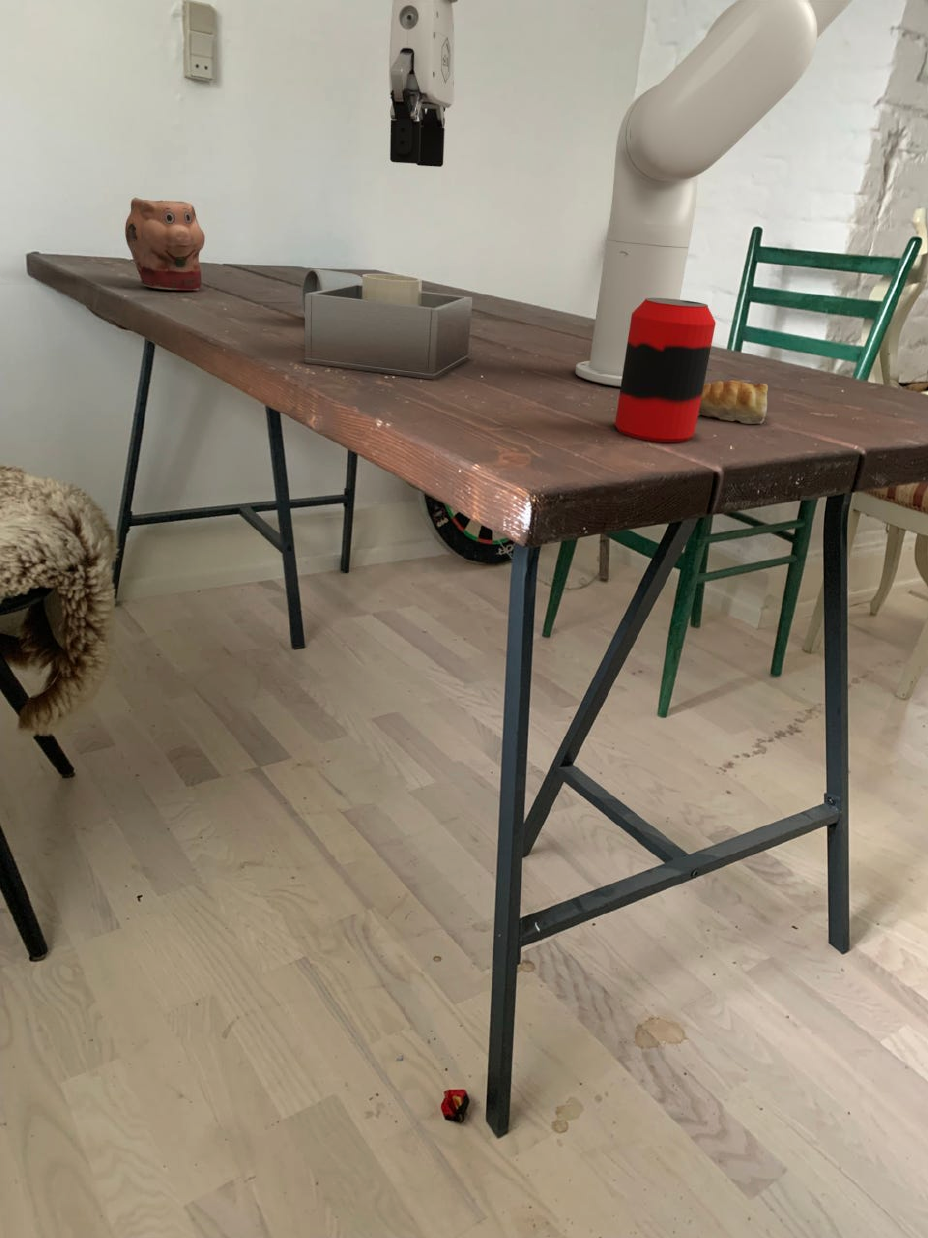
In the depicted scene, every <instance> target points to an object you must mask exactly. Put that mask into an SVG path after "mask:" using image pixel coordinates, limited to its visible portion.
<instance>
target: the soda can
mask: <svg viewBox="0 0 928 1238" xmlns="http://www.w3.org/2000/svg"><path fill="white" fill-rule="evenodd" d="M716 324H717V322H716V320H715V319H714V316H713V315H712V312H711V310H710V309H709V305H708V304H706V303H703V302H698V301H694V300H686V299H680V300H678V299H668V298H645V300H644V301H643V302H642V303H641V305H640V306H639V307H638V308H637V309H636V310H635V311H634V312H633V313H632V316H631V323H630V329H629V336H628V342H627V349H626V355H625V362H624V368H623V375H622V381H621V387H619V394H618V401H617V408H616V414H615V421H614V426H615V427H616V429H617V431H618V432H619V433H621V434H622V435H625V436H626V437H627V436H628V437H630V438H634V439H637V440H643V441H648V442H656V443H671V444H672V443H674V444H675V443H684V442H687V441H689V440H690V439H691V438H693V437H694V435H695V432H696V428H697V422H698V421H697V420H698V417H699V415H698V412H699V407H700V402H701V397H702V391H703V386H704V384H705V381H706V375H707V372H708V371H707V370H708V365H709V360H710V354H711V351H712V350H711V348H712V346H713V345H712V344H713V339H714V333H715V328H716Z"/></svg>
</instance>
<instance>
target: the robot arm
mask: <svg viewBox="0 0 928 1238" xmlns="http://www.w3.org/2000/svg"><path fill="white" fill-rule="evenodd" d="M458 1H459V0H392V7H391V20H390V21H391V22H390V33H389V34H390V35H389V37H390V38H389V55H388V56H389V57H388V59H389V60H388V61H389V63H388V68H389V69H388V81H389V82H388V83H389V95H390V96H389V98H390V100H391V106H390V111H389V115H390V116H389V117H390V135H389V136H390V139H389V140H390V141H389V143H390V144H389V160H390V161H391V163H396V164H397V163H399V164H413V165H414V164H416V166H419V167H420V166H421V167H438V168H441V167H443V166H444V155H445V154H444V151H445V131H446V130H445V126H446V118H445V112H446V109H449V108H451V107H452V105H453V104H454V99H455V97H454V96H455V95H454V94H455V27H454V26H455V25H454V9H453V4H454V3H458ZM852 2H853V0H736V1H735V2H734V3H732V4H731V5H730V6H729V7H727V8H726V9H725V10H724V11H723V12H722V13H721V14H720V15H719V16H718V17H717V18H716V20H714V22H713V23H712V25H711V26H710V28H709V29H708V31H707V33H706V34H705V37H704V38H703V39H702V40H701V41H700V42H699V43H698V44H697V45H696V46H695V48H694V49H693V50H691V51H690V52H689V53H688V54H687V55H686V56H685V58H684V59H682V61H681V62H680V63H679V64H678V65H677V66H676V67H675V68H674V69H673V70H672V71H671V72H670V73H668V75H667V76H666V77H665V78H664V79H663V80H662V81H660V83H658V84H656V85H653V86H652V87H651V88H648V89H646V90H645V91H644V92H643V93H641V94H639V96H637V98H636V99H635V100H634V101H633V102H632V103H631V104H630V106H629V107H628V108H627V110H626V112H625V114H624V116H623V118H622V120H621V124H620V126H619V130H618V134H617V139H616V145H615V157H614V169H613V170H614V171H613V184H612V185H613V186H612V193H611V195H612V196H611V204H610V212H609V220H608V227H607V235H606V240H605V248H604V256H603V257H604V258H603V262H602V270H601V276H600V284H599V291H598V298H597V306H596V311H595V312H596V313H595V320H594V328H593V335H592V342H591V348H590V356H589V360H585V361H584V360H583V361H580V362H578V363H576V365H575V374H576V375H577V377H578V378H579V377H580V378H581V379H584V380H587V381H590V382H592V383H593V382H594V383H597V384H601V385H607V386H613V387H618V388H621V381H622V375H623V368H624V362H625V355H626V349H627V342H628V336H629V329H630V323H631V316H632V313H633V312H634V311H635V310H636V309H637V308H638V307H639V306H640V305H641V303H642V302H643V301H644V300H645V298H668V299H678V300H681V294H682V289H683V282H684V277H685V271H686V265H687V260H688V253H689V249H690V245H691V244H690V243H691V238H692V234H693V233H692V232H693V226H694V219H695V212H696V204H697V203H696V202H697V194H698V193H697V192H698V179H699V178H698V177H699V175H701V174H703V173H704V172H706V171H707V170H708V169H710V168H711V167H712V166H713V165H714V164H716V162H718V161H719V160H720V159H721V158H722V157H723V156H724V155H726V153H727V152H729V151H730V150H731V149H732V148H733V147H734V146H735V145H736V144H737V143H738V142H739V141H740V140H741V139H742V138H743V137H745V136H746V135H747V134H748V133H749V131H750V130H751V129H753V127H755V126H756V125H757V124H758V123H759V122H760V121H761V120H762V119H763V118H764V117H765V116H766V115H767V114H768V113H769V112H770V111H771V110H772V109H773V108H774V107H775V106H776V105H777V104H778V103H779V102H780V101H782V100H783V98H784V97H786V96H787V94H788V93H790V91H791V90H792V89H793V88H794V87H795V86H796V84H797V83H798V82H799V81H800V79H801V78H802V77H803V75H804V74H805V73H806V71H807V69H808V68H809V65H810V63H811V62H812V59H813V56H814V54H815V50H816V45H817V42H818V41H817V40H818V39H819V37H820V36H821V35H822V34H823V33H824V32H825V30H827V28H828V27H830V25H831V24H832V23H833V22H834V21H835V20H836V19H837V18H838V17H839V16H840V15H841V14H842V13H843V11H844V10H846V8H847V7H848V6H849V5H850V4H851V3H852Z"/></svg>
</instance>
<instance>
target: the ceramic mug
mask: <svg viewBox="0 0 928 1238" xmlns="http://www.w3.org/2000/svg"><path fill="white" fill-rule="evenodd" d="M351 284H360V285H362V275H358V274H355V273H353V272H351V273H350V272H346V271H345V272H343V271H336V270H329V269H321V268H310V269H308V270H307V272H306V273H305V276H304V278H303V281H302V285H301V292H300V293H301V295H300V297H301V309H302V314H303V317H304V318H305V294H307V293H312V292H317V291H321V290H326V289H331V288H336V287H341V286H346V285H351Z"/></svg>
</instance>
